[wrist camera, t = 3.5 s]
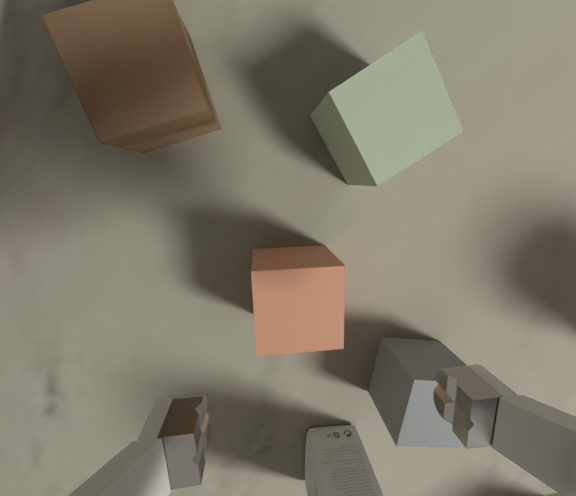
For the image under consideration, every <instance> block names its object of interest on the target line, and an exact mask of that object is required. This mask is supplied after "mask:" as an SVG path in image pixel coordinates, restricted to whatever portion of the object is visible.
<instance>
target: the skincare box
mask: <svg viewBox="0 0 576 496" xmlns="http://www.w3.org/2000/svg"><path fill="white" fill-rule="evenodd" d="M305 484H306V490H307V495H308V496H384V495H383V493H382V490H381V488H380V486H379V483H378V481H377V478H376V476H375V473H374V471H373V468H372V466H371V463H370V461H369V459H368V456H367V454H366V451H365V449H364V446H363V444H362V441H361V439H360V437H359V434H358V432H357V429H356V427H355V426H353V425H339V426H326V427H316V428H309V430H308V432H307V437H306V448H305Z"/></svg>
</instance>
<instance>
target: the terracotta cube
mask: <svg viewBox="0 0 576 496" xmlns="http://www.w3.org/2000/svg"><path fill="white" fill-rule="evenodd" d="M251 280H252V295H253V310H254V326H255V341H256V356H267V355H278V354H290V353H301V352H313V351H324V350H336V349H344V307H345V265H344V264H343V263H342V262H341V261H340V260H339V259H338V258H337V257H336V256H335V255H334V254H333V253H332V252H331V251H330V250H329V249H328V248H327V247H326V246H325V245H316V246H298V247H279V248H261V249H253V254H252V265H251Z"/></svg>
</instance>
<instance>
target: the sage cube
mask: <svg viewBox="0 0 576 496" xmlns="http://www.w3.org/2000/svg"><path fill="white" fill-rule="evenodd" d="M310 117H311V119H312V121H313V122H314V124H315V126H316V128H317V130H318V132H319V133H320V135H321V137H322V139H323V141H324V143H325V144H326V146H327V148H328V150H329V152H330V154H331V155H332V157H333V159H334V161H335V163H336V165H337V166H338V168H339V170H340V172H341V174H342V175H343V177H344V179H345V181H346V183H347V185H364V186H379V185H380V184H382V183H383V182H385V181H386V180H388V179H390V178H391V177H393V176H394V175H396V174H397V173H399V172H401V171H402V170H404V169H405V168H407V167H408V166H410V165H412V164H413V163H415V162H416V161H418V160H419V159H421V158H423V157H424V156H426V155H427V154H429V153H430V152H432V151H434V150H435V149H437V148H438V147H440V146H441V145H443V144H445V143H446V142H448V141H449V140H451V139H452V138H454V137H456V136H457V135H459V134H460V133H462V132H463V129H462V126H461V124H460V121H459V119H458V116H457V114H456V112H455V109H454V107H453V104H452V102H451V99H450V97H449V94H448V92H447V89H446V87H445V84H444V82H443V79H442V77H441V74H440V72H439V70H438V67H437V65H436V62H435V60H434V57H433V55H432V52H431V50H430V47H429V45H428V42H427V40H426V37H425V35H424V32H423V30H422V31H421V32H419V33H418V34H416V35H415V36H413V37H411V38H410V39H408V40H407V41H405V42H404V43H402V44H401V45H399V46H398V47H396V48H395V49H393V50H392V51H390V52H389V53H387V54H386V55H384V56H383V57H381V58H380V59H378V60H377V61H375V62H373V63H372V64H370V65H369V66H367V67H366V68H364V69H363V70H361V71H360V72H358V73H357V74H355V75H354V76H352V77H351V78H349V79H348V80H346V81H345V82H343V83H342V84H340V85H338V86H337V87H335V88H334V89H332V90H331V91H329V92H328V93H327V95H326V96H325V97H324V98H323V100H322V101H321V102H320V103H319V105H318V106H317V107H316V108H315V110H314V111H313V112H312V113H311V115H310Z"/></svg>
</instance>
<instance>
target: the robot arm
mask: <svg viewBox="0 0 576 496" xmlns="http://www.w3.org/2000/svg"><path fill="white" fill-rule="evenodd" d="M435 380H436V382H437V383H438V385H437V386H436V388H435V389H434V394H433V399H434V403H435V407H436V409H437V411H438V413H439V414H440V416H441V417H442V418H443V420H445V421H447V422H449V423H450V424H452V431H453V432H454V434H455V435H456V436H457V437H458V439H459V440H460V441H461V442H462V444H463V445H464V446H465V447H466V449H468V448H478V447H488V446H492V448H493V449H495V450H496V451H498V452H499V453H501V454H502V455H504V456H505V457H507V458H508V459H509V460H511V461H512V462H514V463H515V464H517V465H518V466H520V467H521V468H523V469H524V470H526V471H527V472H529V473H530V474H532V475H533V476H534V477H536V478H537V479H539V480H540V481H542V482H543V483H545V484H546V485H548V486H549V487H551V488H552V489H554V490H555V491H557V492H558V493H554V494H547V495H541V496H576V417H575V416H573V415H570V414H568V413H565V412H563V411H561V410H558V409H556V408H553V407H551V406H548V405H546V404H543V403H541V402H538V401H536V400H534V399H531V398H529V397H526V396H524V395H519V396H518V395H517V394H516V393H515V392H514V391H512V390H511V389H510V388H509V387H507V386H506V385H505V384H504V383H502V382H501V381H500V380H499V379H498V378H496V377H495V376H494V375H493V374H491V373H490V372H489V371H488V370H486V369H485V368H484V367H483V366H481V365H478V364H475V365H467V366H463V367H454V368H445V369H437V371H436V373H435ZM207 405H208V403H207V396H206V395H205V394H199V395H187V396H175V397H166V398H159V399H158V400H157V401H156V402H155V404H154V407H153V409H152V411H151V413H150V415H149V417H148V419H147V421H146V424H145V426H144V428H143V430H142V432H141V434H140V436H139V438H138V441H133V442H131V443H130V444H129V445H128V446H127V447H125V448H124V449H123V450H122V451H121V452H119V453H118V454H117V455H116V456H115V457H114V458H112V459H111V460H110V461H109V462H108V463H106V464H105V465H104V466H103V467H102V468H101V469H99V470H98V471H97V472H96V473H95V474H93V475H92V476H91V477H90V478H89V479H88V480H86V481H85V482H84V483H83V484H82V485H80V486H79V487H78V488H77V489H76V490H75V491H73V492H72V493H71V494H70V495H69V496H168V495H169V494H170V492H171V489H177V488H183V487H189V486H195V485H201V482H202V476H203V471H204V466H205V457H204V453H205V451H206V450H207V449H208V445H209V437H210V419H209V415H208V414H207V413H206V410H207Z"/></svg>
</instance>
